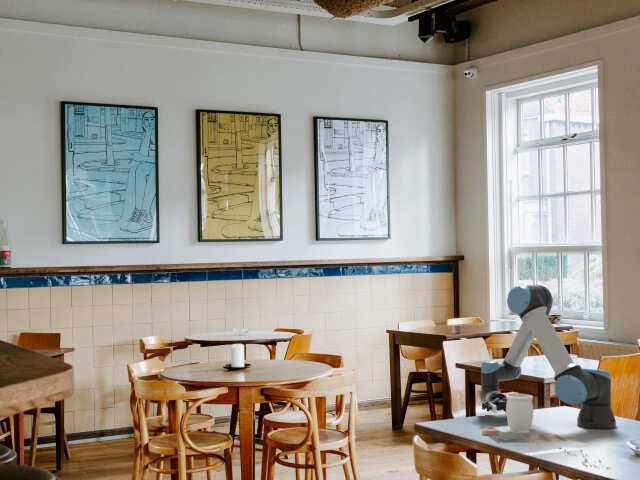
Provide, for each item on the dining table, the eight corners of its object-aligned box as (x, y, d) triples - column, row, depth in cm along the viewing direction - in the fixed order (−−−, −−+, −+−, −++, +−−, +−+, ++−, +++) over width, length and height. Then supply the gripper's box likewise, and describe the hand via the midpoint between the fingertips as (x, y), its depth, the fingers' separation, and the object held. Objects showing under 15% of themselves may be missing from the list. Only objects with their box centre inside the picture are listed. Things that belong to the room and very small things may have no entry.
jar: (534, 437, 314) (533, 397, 315) (506, 436, 316) (506, 397, 317) (532, 431, 325) (532, 393, 325) (506, 430, 327) (505, 393, 327)
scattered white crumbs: (584, 452, 290) (584, 448, 290) (610, 470, 265) (610, 465, 265) (564, 452, 290) (564, 448, 290) (588, 470, 265) (588, 465, 265)
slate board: (519, 438, 312) (519, 435, 312) (529, 445, 300) (529, 441, 300) (488, 439, 311) (488, 436, 311) (497, 446, 299) (497, 442, 299)
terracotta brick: (497, 436, 316) (497, 429, 316) (500, 438, 313) (499, 430, 313) (482, 437, 315) (482, 429, 316) (484, 439, 313) (484, 431, 313)
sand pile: (556, 437, 313) (556, 434, 313) (567, 444, 301) (567, 440, 301) (522, 438, 312) (522, 435, 312) (533, 445, 300) (533, 441, 300)
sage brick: (512, 437, 308) (512, 429, 308) (517, 438, 306) (517, 430, 306) (499, 438, 306) (499, 430, 306) (504, 440, 303) (504, 432, 303)
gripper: (525, 408, 352) (542, 417, 331) (468, 410, 350) (481, 419, 329) (524, 391, 352) (541, 399, 331) (468, 392, 350) (481, 400, 329)
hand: (511, 409), depth 330 cm, fingers open, 13 cm apart
